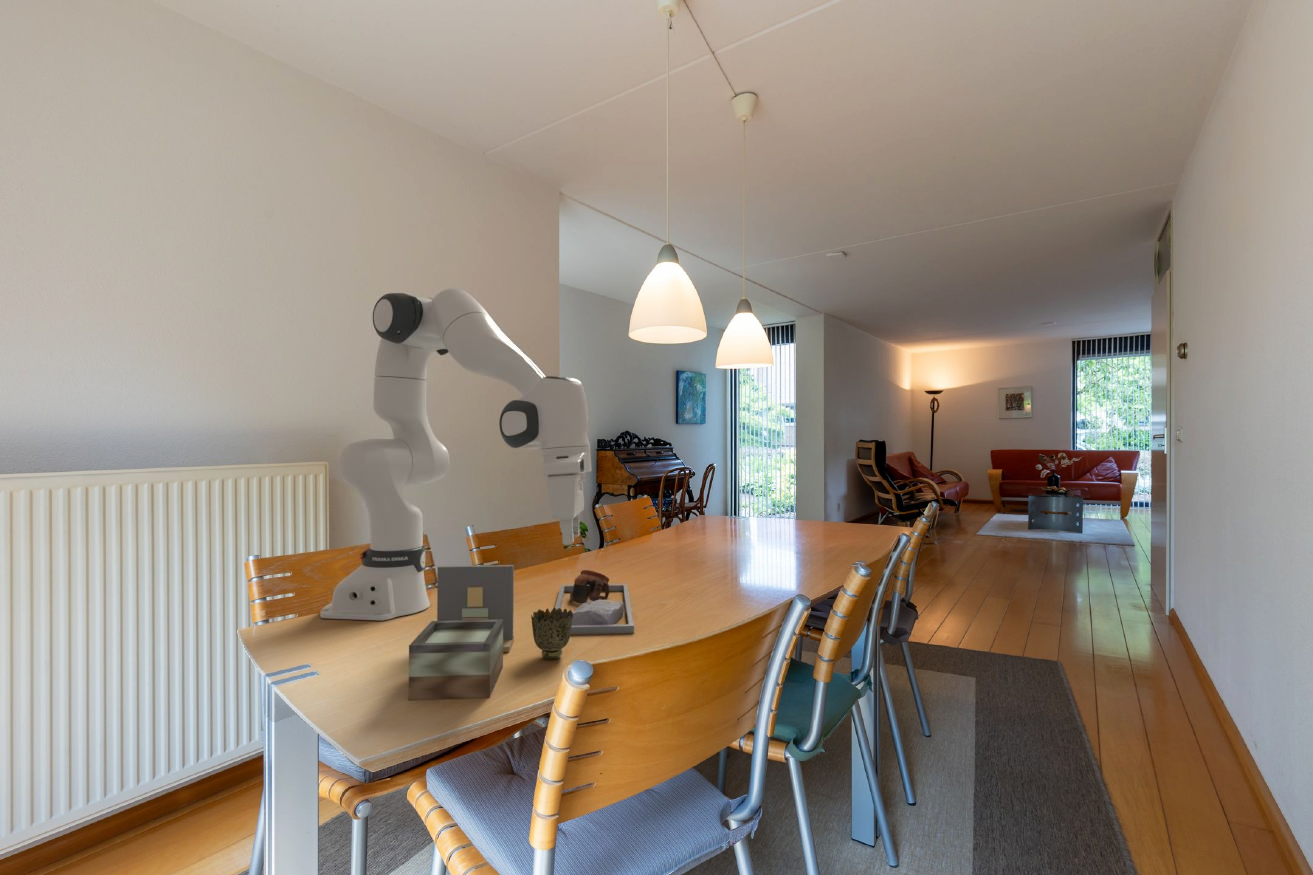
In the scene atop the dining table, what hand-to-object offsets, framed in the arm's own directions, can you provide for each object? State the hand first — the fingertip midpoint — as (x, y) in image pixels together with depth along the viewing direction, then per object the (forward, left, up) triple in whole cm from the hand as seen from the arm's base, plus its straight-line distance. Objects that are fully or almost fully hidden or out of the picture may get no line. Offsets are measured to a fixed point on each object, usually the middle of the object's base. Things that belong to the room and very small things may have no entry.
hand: (571, 540), depth 108 cm
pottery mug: (+3, +37, -21) cm, 43 cm away
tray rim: (+4, +29, -21) cm, 36 cm away
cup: (-3, 0, -21) cm, 22 cm away
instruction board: (-18, +6, -21) cm, 29 cm away
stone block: (+4, +21, -22) cm, 30 cm away
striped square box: (-17, -10, -21) cm, 29 cm away
